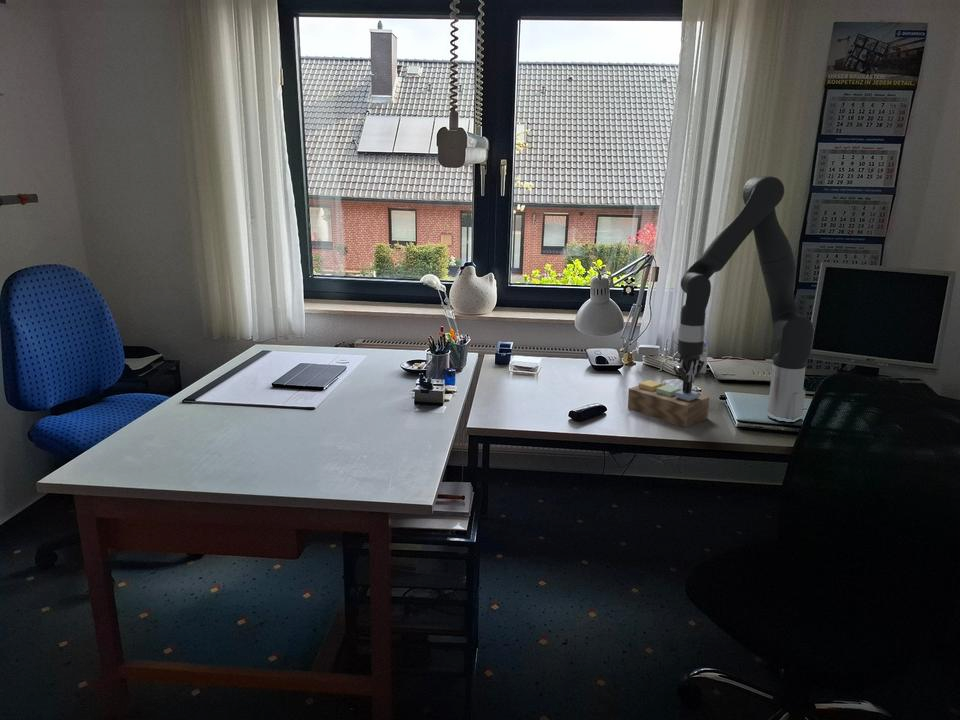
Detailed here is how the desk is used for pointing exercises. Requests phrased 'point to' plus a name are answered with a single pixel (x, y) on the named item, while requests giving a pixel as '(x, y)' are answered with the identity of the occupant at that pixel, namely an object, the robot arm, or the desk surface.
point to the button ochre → (650, 385)
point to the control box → (668, 406)
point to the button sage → (667, 390)
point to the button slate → (687, 395)
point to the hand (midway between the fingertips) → (686, 392)
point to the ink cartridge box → (704, 356)
